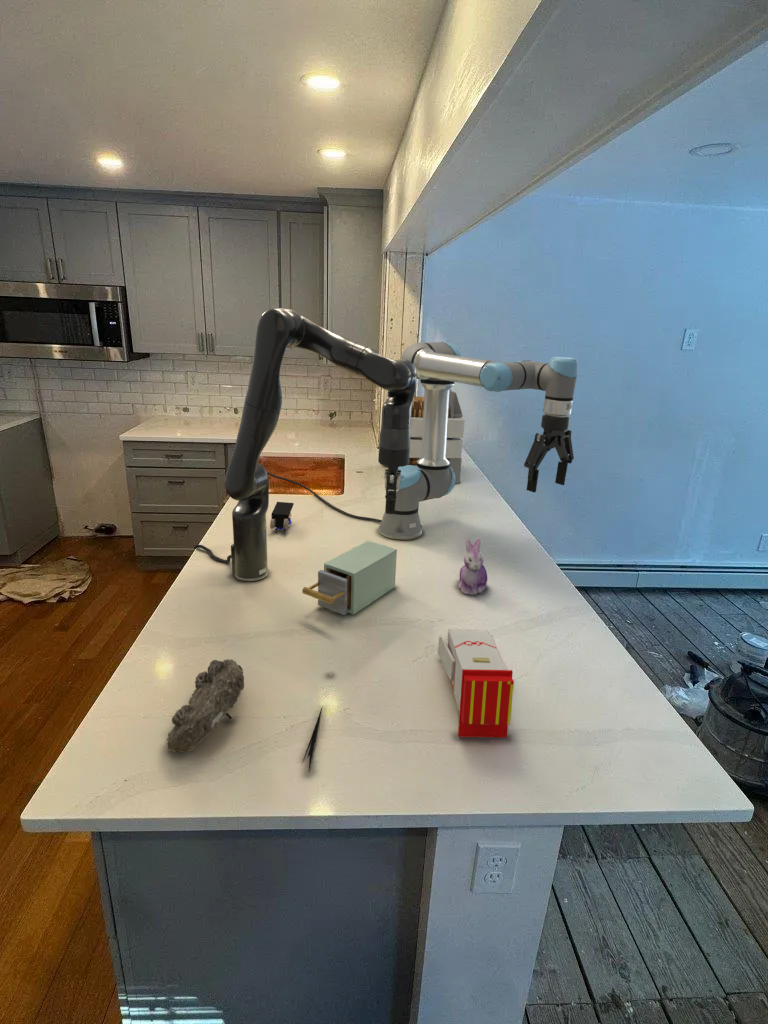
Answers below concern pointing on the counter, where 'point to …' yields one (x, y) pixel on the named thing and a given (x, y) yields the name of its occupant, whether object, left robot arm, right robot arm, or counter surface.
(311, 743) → the feather
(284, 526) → the figurine character
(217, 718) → the fossil
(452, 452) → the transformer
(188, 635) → the counter surface
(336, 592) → the drawer
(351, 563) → the cabinet
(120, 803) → the counter surface
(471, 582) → the figurine
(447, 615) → the counter surface
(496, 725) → the toy
